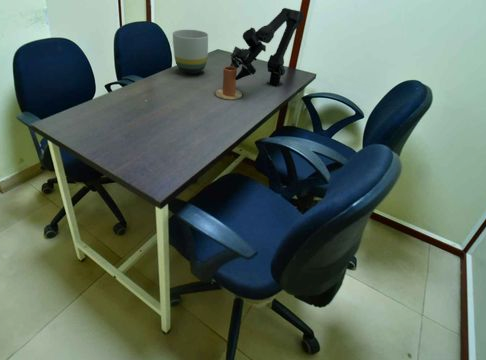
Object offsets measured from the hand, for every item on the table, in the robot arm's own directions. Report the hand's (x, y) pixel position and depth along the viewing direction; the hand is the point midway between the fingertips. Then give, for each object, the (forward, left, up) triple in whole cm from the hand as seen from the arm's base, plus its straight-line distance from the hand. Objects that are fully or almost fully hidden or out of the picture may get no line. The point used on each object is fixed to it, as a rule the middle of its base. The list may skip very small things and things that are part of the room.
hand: (231, 76), depth 152 cm
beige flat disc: (+1, 0, -9) cm, 9 cm away
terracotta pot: (+1, 0, -9) cm, 9 cm away
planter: (-7, -37, -9) cm, 38 cm away
